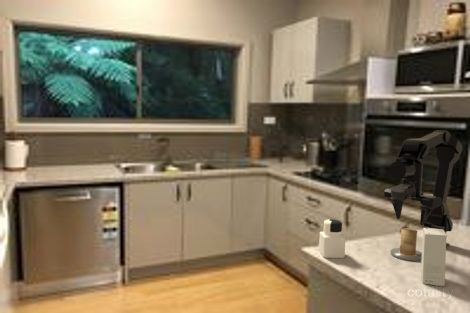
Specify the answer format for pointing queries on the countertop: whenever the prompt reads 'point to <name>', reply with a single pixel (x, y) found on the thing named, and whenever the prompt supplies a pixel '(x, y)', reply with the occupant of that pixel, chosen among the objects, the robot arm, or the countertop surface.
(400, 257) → the coaster
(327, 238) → the medicine bottle
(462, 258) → the countertop surface
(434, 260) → the skincare box
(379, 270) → the countertop surface
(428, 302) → the countertop surface
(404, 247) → the oak canister
